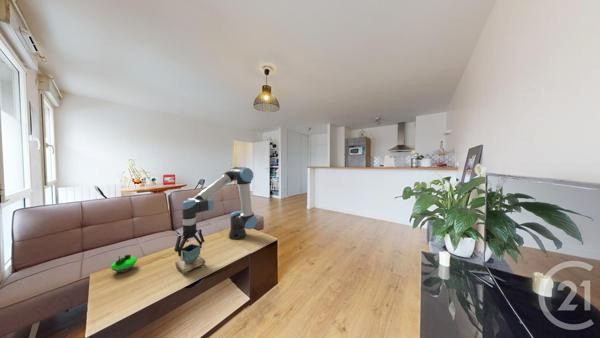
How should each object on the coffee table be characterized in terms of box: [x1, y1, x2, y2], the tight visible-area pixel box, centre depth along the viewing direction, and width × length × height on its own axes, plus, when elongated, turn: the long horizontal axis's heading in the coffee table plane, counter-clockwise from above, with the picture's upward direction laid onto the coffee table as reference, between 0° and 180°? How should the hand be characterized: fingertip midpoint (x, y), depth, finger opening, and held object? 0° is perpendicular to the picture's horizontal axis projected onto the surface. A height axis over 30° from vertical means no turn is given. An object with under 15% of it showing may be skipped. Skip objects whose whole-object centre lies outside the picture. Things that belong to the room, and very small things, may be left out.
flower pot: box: [182, 243, 201, 263], centre depth 118 cm, size 9×9×9 cm
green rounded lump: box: [110, 254, 138, 273], centre depth 115 cm, size 12×12×11 cm
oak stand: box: [175, 255, 206, 276], centre depth 119 cm, size 13×13×4 cm
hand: (190, 256), depth 119 cm, fingers closed on flower pot, 10 cm apart
